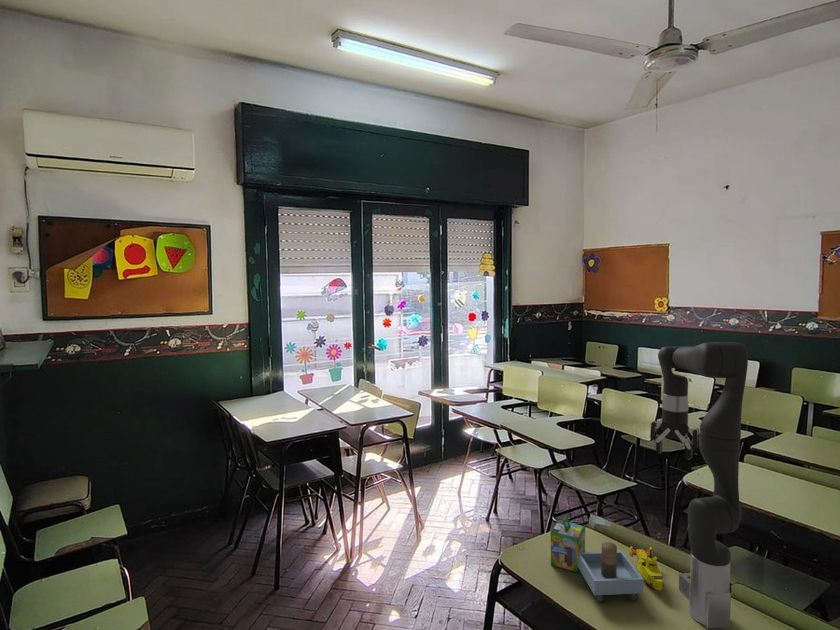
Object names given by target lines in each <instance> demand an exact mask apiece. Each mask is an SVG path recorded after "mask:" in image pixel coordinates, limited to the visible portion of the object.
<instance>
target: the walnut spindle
mask: <svg viewBox="0 0 840 630" xmlns="http://www.w3.org/2000/svg"><path fill="white" fill-rule="evenodd" d="M617 551H618V546H617V545H616V544H615V543H614V542H611V541H604V542H602V543H601V552H602V554H601V574H602V576H603V577H605V578H607V579H615V578H616V572H617Z"/></svg>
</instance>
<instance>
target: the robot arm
mask: <svg viewBox="0 0 840 630" xmlns="http://www.w3.org/2000/svg"><path fill="white" fill-rule="evenodd" d="M657 358H658V359H657V360H658V363H659V366H660V370H661V373H662V379H663V380H662V381H663V390H662V391H663V393H662V400H661V403H662V404H661V411H662V412H661V422H659V421H657V420H653V421H652V422H651V424H650V431H649V432H650V435H649V439H650V440H651V441H652V440H653V441H654V442H655V450H656V452H657V454H660V455H661V454H662V453H663V441H662V440H664V438H666V437H667V438H668V439H674V440H677V441H679V440H680V441H681V443H682V444H683V445H685V447H686V449H685V461H690V460H691V459H692V458H693V452H694V449H696V450H697V449H698V448H699V452H700V455H701V456H702V458H703V460H704V462H705V463H706V465H707V467H708V468H709V471H711V474H712V477H713V483H714V484H713V485H714V486H713V494H712V496H705V497H697V498H694V499H692V500H691V501H690V502H689V504H688V506H687V529H688V531H687V532H688V533H687V534H688V535H687V536H688V540H689V546H690V565H689V567H690V568H689V569H690V571H689V573H690V592H689V600H688V612H689V614H690V616H691V617H692V618H693V620H694V621H696V622H698V623H699V624H701V625H703V626H705V628H707V629H726V628H729V629H730V628H731V611H732V610H731V609H732V608H731V607H732V605H731V603H732V593H731V592H730V584H731V583H730V581H731V562H732V561H731V559H732V557H731V556H732V554H731V553H732V552H731V550H730V549H729V547H728V546H726V545H725V544H724V543H722V542H721V541H719V540H716V535H722V534H729V533H733V532H735V531H736V530H738V528H739V526H740V521H741V510H740V509H741V507H740V492H739V491H740V490H739V471H740V470H739V469H740V468H739V465H740V464H739V463H740V453H741V437H742V435H741V434H742V409H743V400H744V393H745V386H746V380H747V373H748V367H749V366H748V365H749V363H748V362H749V359H748V352H747V349H746V347H745V345H744V344H743V343H741V342H736V341H732V342H731V341H730V342H729V341H708V342H703V343H700V344H698V345H695V346H690V345H689V346H686V345H684V346H677V345H675V346H670V345H669V346H668V345H667V346H662V347H661V348H660V349H659V350H658V353H657ZM672 369H682V370H687V371H693V372H695V373H696V374H699V375H700V376H702V377H706V378H711V379H725V381H724V384H723V388H722V391H721V394H720V396H719V397H718V399H717V400H716V402H714V404H713V405H712V406H711V408H710V409H709V410H708V411H707V413H706V414H705V415H704V416H703V418H702V420H701V422H700V425H699V428H697V427H695V428H690V427H689V409H690V408H689V406H690V405H689V396H688V395H689V394H688V393H689V392H688V391H689V379H688V378H687V377H686V376H684V375H681V374H676V373H674V372H673V370H672ZM659 428H660V429H661V430H662V433H661V434H660V435H659V436H657V435H658V434H657V433H658V429H659ZM688 433H690V435H691V436H692V441H691V439H690V437H689V436H688Z"/></svg>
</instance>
